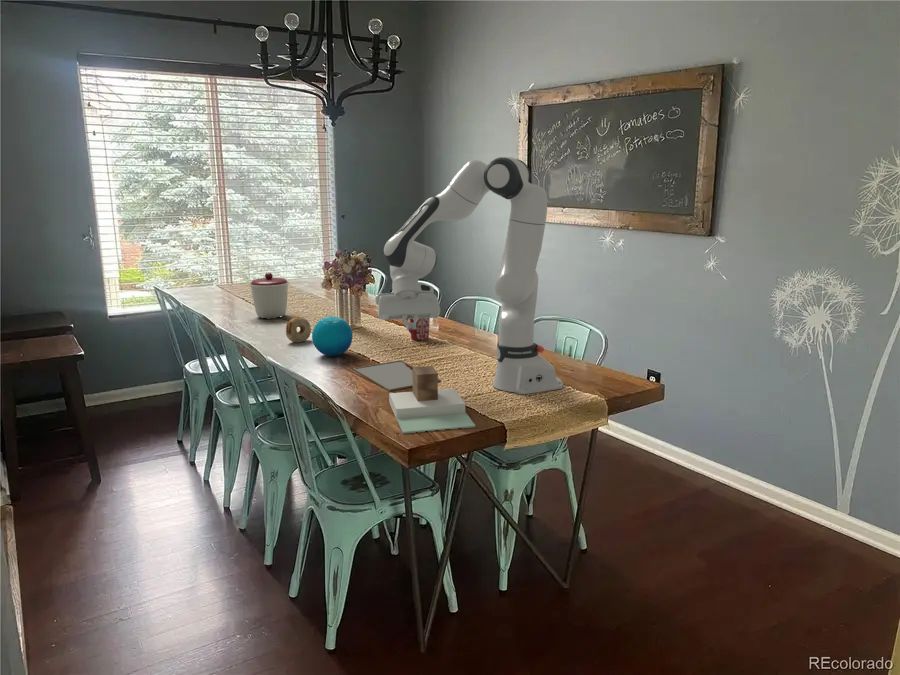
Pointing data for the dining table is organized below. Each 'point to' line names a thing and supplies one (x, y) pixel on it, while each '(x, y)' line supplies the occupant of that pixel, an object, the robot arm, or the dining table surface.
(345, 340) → the decorative orb
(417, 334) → the mug
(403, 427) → the mat
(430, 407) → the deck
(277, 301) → the canister
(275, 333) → the dining table surface
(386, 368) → the picture frame
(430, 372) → the walnut block
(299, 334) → the stone disc
